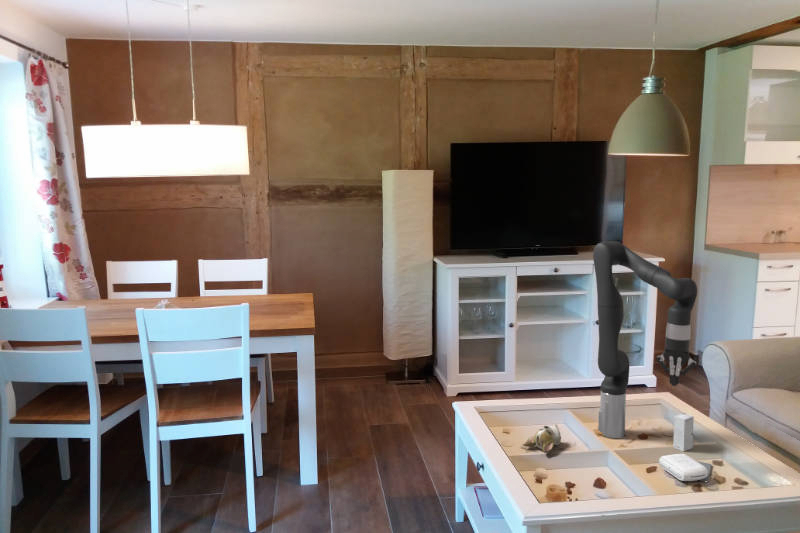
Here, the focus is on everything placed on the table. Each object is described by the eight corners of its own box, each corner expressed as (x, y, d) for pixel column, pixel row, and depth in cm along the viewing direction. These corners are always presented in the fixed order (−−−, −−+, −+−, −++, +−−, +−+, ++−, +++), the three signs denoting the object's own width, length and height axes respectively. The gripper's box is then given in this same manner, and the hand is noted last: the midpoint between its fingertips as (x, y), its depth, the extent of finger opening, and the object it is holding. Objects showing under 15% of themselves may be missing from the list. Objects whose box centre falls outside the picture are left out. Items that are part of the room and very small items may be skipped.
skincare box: (684, 452, 210) (685, 419, 208) (672, 447, 213) (673, 416, 212) (693, 447, 213) (694, 416, 212) (681, 443, 217) (683, 412, 215)
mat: (672, 475, 192) (672, 473, 192) (677, 458, 204) (677, 457, 204) (708, 482, 187) (708, 480, 187) (711, 465, 199) (711, 463, 199)
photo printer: (657, 467, 196) (684, 485, 185) (658, 455, 196) (684, 472, 184) (683, 463, 199) (711, 481, 187) (684, 452, 198) (712, 468, 186)
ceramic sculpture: (568, 423, 215) (545, 437, 205) (569, 445, 216) (546, 460, 206) (544, 416, 223) (520, 429, 213) (544, 437, 224) (521, 451, 214)
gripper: (654, 335, 198) (651, 384, 201) (698, 341, 191) (694, 392, 193) (658, 331, 204) (655, 378, 207) (700, 336, 197) (696, 385, 200)
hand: (674, 385), depth 200 cm, fingers closed
